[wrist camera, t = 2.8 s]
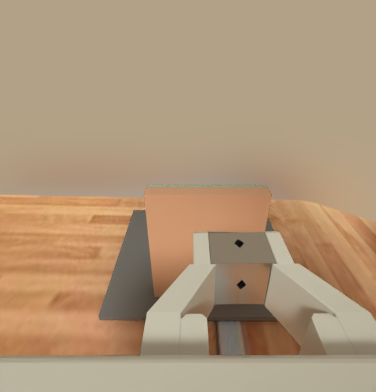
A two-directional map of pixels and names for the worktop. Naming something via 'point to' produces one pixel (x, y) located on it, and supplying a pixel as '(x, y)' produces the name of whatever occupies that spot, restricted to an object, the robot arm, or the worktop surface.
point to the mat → (143, 283)
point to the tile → (196, 221)
